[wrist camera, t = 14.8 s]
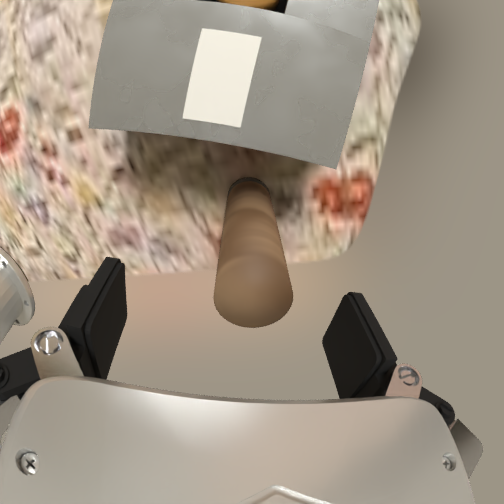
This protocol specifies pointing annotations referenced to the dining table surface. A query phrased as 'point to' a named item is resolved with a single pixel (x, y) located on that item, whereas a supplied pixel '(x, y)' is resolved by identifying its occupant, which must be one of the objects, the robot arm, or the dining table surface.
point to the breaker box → (235, 72)
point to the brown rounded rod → (251, 260)
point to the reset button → (254, 3)
